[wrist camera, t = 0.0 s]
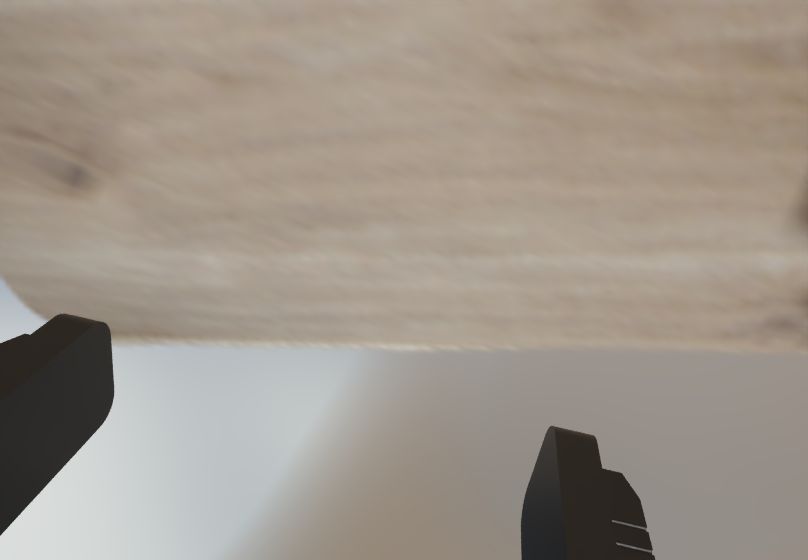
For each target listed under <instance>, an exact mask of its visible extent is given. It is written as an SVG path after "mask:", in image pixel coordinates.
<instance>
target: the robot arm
mask: <svg viewBox="0 0 808 560" xmlns="http://www.w3.org/2000/svg"><path fill="white" fill-rule="evenodd" d="M113 398H114V381H113V364H112V347H111V334H110V329H109V327H108V325H107V324H106V323H104V322H100V321H95V320H91V319H86V318H82V317H78V316H73V315H69V314H59V315H57V316H55V317H54V318H52V319H51V320H50V321H48V322H47V323H46V324H44V325H43V326H42V327H40V328H39V329H38V330H36V331H35V332H34V333H32V334H31V335H29V334H23V335H21V336H18V337H16V338H13V339H11V340H8V341H6V342H3V343H0V535H1V534H2V533H3V532H4V531H5V530H6V529H7V528H8V527H9V526H10V524H11V523H12V522H13V521H14V520H15V519H16V518H17V517H18V516H19V515H20V514H21V512H22V511H23V510H24V509H25V508H26V507H27V506H28V505H29V504H30V503H31V502H32V500H33V499H34V498H35V497H36V496H37V495H38V494H39V493H40V492H41V491H42V490H43V488H44V487H45V486H46V485H47V484H48V483H49V482H50V481H51V480H52V478H54V476H55V475H56V474H57V473H58V472H59V471H60V470H61V469H62V468H63V467H64V465H66V463H67V462H68V461H69V460H70V459H71V458H72V457H73V456H74V455H75V454H76V453H77V451H78V450H79V449H80V448H81V447H82V446H83V445H84V444H85V443H86V441H88V439H89V438H90V437H91V436H92V435H93V434H94V433H95V432H96V431H97V429H98V428H99V427H100V426H101V425H102V424H103V423H104V421H105V420H106V418H107V416H108V414H109V412H110V409H111V406H112V403H113ZM646 528H647V525H646V521H645V517H644V513H643V509H642V505H641V501H640V499H639V497H638V496H637V494H636V493H635V491H634V490H633V489H632V487H631V486H630V484H629V483H628V481H627V480H626V479H625V477H624V476H623V474H622V473H619V472H614V471H610V470H606V469H602V465H601V460H600V455H599V449H598V444H597V440H596V438H595V436H593V435H589V434H585V433H581V432H576V431H572V430H567V429H563V428H559V427H554V426H550V427H549V429H548V430H547V433H546V435H545V438H544V441H543V444H542V447H541V450H540V452H539V456H538V459H537V461H536V464H535V468H534V470H533V473H532V476H531V479H530V482H529V484H528V488H527V491H526V494H525V499H524V504H523V510H522V518H521V551H522V552H521V553H522V560H655V557H654V555H652V550H653V549H652V545H651V541H650V537H649V533H648V532H646Z"/></svg>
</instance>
